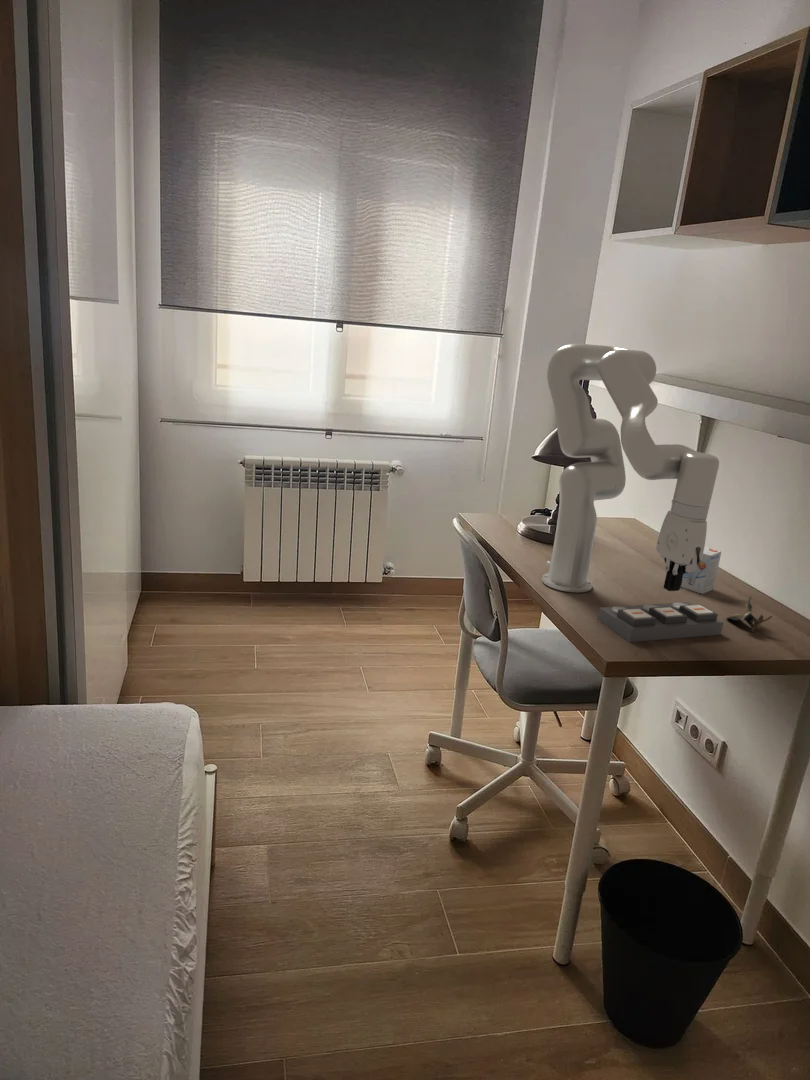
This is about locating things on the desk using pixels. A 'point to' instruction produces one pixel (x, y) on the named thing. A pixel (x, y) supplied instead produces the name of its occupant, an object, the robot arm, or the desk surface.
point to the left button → (637, 613)
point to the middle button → (668, 612)
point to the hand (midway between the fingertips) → (671, 589)
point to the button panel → (660, 623)
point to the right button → (698, 609)
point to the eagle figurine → (749, 617)
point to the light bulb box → (703, 572)
